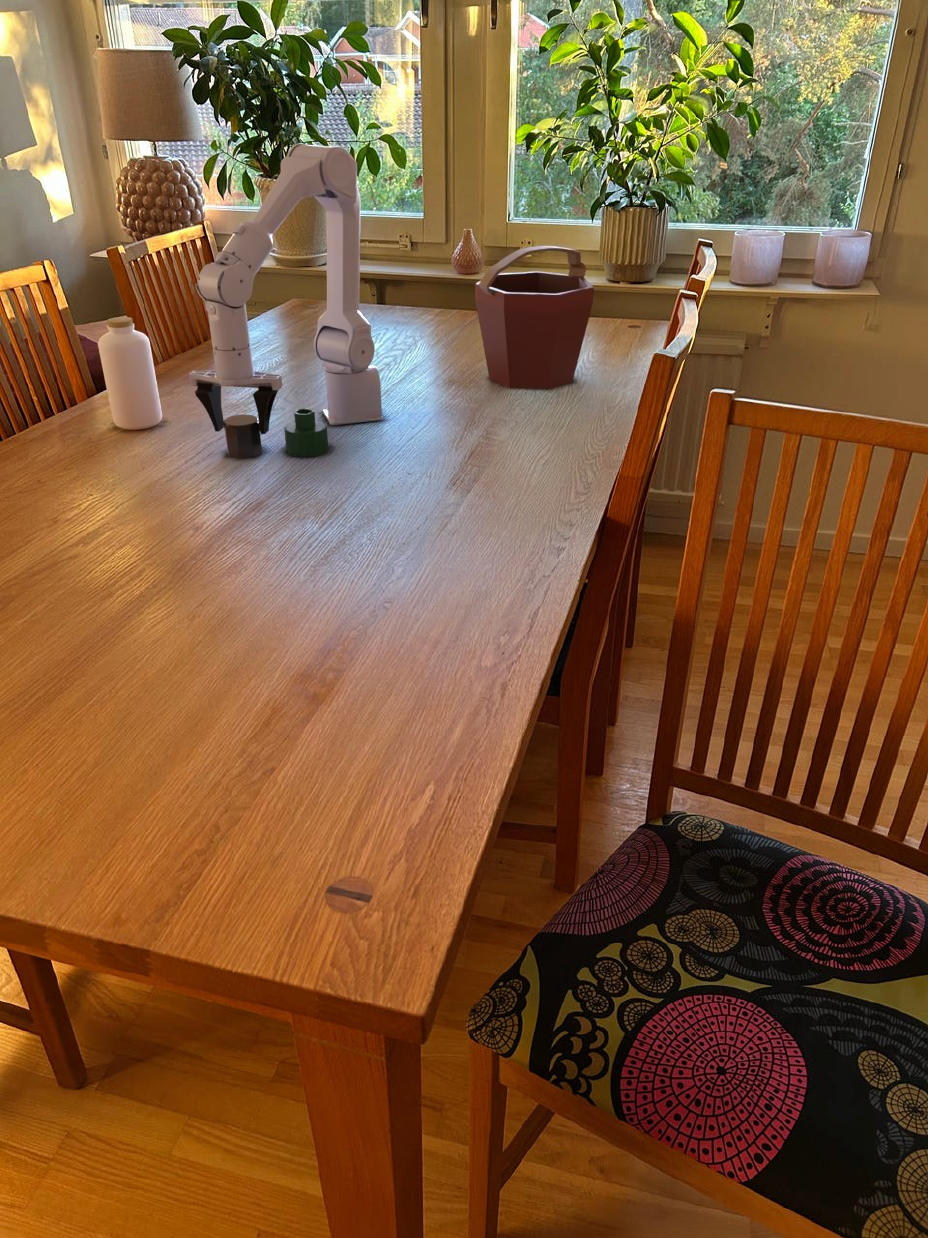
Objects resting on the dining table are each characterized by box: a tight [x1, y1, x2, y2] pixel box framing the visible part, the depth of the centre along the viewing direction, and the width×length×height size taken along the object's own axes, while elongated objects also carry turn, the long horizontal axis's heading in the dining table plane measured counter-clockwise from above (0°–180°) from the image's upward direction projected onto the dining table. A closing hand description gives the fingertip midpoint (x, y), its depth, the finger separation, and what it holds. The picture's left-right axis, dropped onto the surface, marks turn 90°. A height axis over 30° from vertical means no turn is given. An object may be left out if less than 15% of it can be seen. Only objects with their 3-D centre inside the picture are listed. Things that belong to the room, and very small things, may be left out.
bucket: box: [474, 245, 595, 391], centre depth 182 cm, size 24×22×25 cm
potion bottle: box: [97, 316, 163, 431], centre depth 159 cm, size 8×8×18 cm
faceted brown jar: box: [223, 414, 263, 460], centre depth 150 cm, size 5×5×6 cm
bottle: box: [283, 407, 329, 458], centre depth 151 cm, size 7×7×6 cm
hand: (242, 430), depth 150 cm, fingers open, 7 cm apart
